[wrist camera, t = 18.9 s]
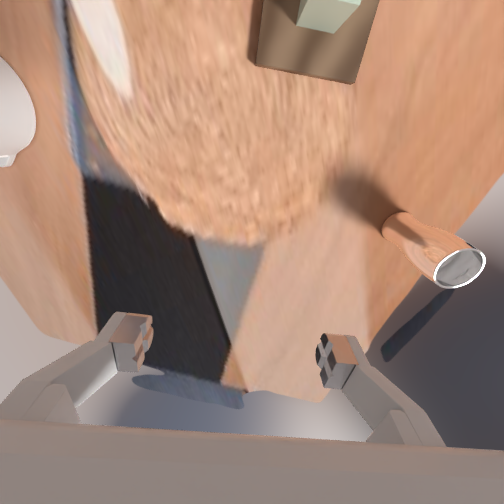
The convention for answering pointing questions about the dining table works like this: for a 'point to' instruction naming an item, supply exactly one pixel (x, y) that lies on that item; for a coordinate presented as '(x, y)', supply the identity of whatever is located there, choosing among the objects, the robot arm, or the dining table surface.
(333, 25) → the pale green tall block
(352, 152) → the dining table surface
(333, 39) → the post base
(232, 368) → the dining table surface
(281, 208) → the dining table surface
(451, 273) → the beer glass
